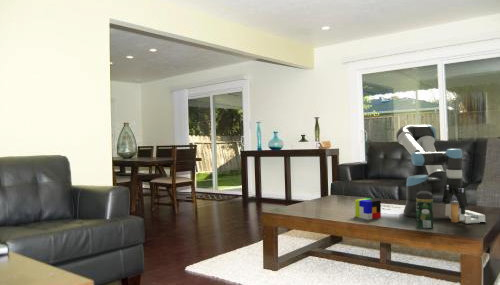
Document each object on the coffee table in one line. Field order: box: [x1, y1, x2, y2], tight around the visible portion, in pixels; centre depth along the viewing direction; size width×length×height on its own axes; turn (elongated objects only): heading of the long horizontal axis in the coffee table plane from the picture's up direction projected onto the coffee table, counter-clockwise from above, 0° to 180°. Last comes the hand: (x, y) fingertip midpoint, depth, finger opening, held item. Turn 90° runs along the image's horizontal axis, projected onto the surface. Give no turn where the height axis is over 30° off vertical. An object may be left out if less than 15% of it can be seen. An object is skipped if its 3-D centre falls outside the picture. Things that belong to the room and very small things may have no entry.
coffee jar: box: [416, 191, 434, 230], centre depth 202 cm, size 10×8×19 cm
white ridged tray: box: [448, 209, 486, 224], centre depth 215 cm, size 11×14×4 cm
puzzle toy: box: [354, 197, 382, 221], centre depth 229 cm, size 10×10×10 cm
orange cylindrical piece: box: [450, 200, 460, 223], centre depth 212 cm, size 4×4×11 cm
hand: (454, 217), depth 212 cm, fingers open, 11 cm apart
